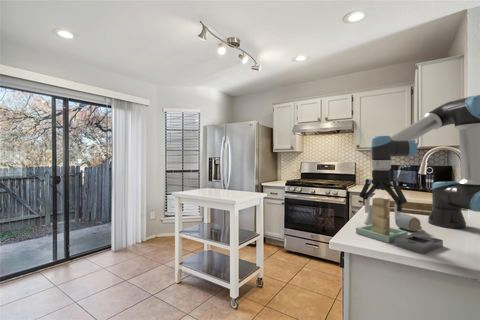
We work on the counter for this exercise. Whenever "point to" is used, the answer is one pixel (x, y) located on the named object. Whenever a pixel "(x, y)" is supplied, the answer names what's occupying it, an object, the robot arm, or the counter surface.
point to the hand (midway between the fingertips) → (381, 215)
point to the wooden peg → (381, 216)
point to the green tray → (385, 238)
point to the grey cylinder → (408, 222)
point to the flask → (369, 217)
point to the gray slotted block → (418, 243)
